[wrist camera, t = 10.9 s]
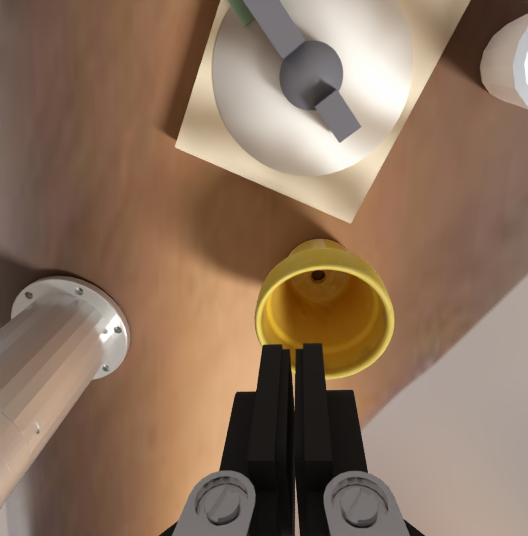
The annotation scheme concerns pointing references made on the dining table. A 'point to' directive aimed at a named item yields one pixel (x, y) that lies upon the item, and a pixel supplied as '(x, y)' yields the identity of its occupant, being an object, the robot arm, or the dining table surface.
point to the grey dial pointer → (306, 68)
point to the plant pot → (326, 307)
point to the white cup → (507, 63)
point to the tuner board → (310, 121)
